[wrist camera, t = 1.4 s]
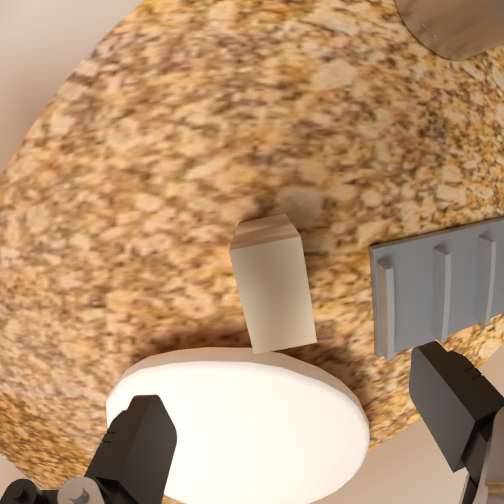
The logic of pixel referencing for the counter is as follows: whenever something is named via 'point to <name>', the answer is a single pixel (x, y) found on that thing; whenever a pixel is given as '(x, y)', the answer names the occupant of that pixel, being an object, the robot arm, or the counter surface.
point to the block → (273, 283)
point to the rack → (436, 284)
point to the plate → (250, 425)
